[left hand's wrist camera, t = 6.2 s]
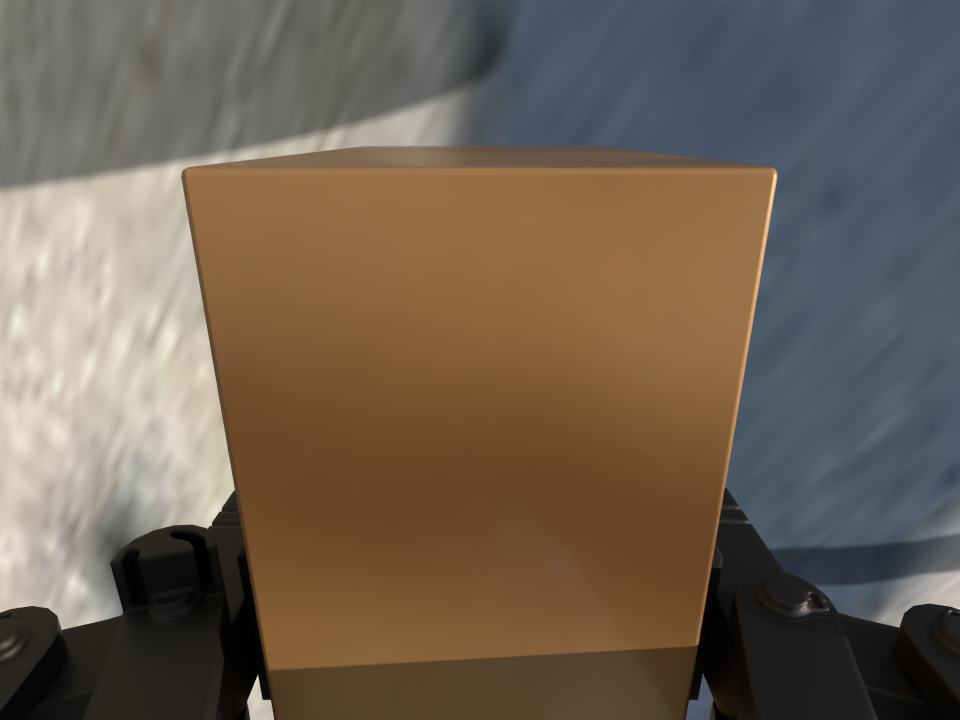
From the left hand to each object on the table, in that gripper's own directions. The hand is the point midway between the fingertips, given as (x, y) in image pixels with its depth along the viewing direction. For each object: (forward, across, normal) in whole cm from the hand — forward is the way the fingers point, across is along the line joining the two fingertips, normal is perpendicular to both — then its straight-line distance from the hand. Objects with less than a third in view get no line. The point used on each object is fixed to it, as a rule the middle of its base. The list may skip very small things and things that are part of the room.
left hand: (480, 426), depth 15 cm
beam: (0, 0, -29) cm, 29 cm away
